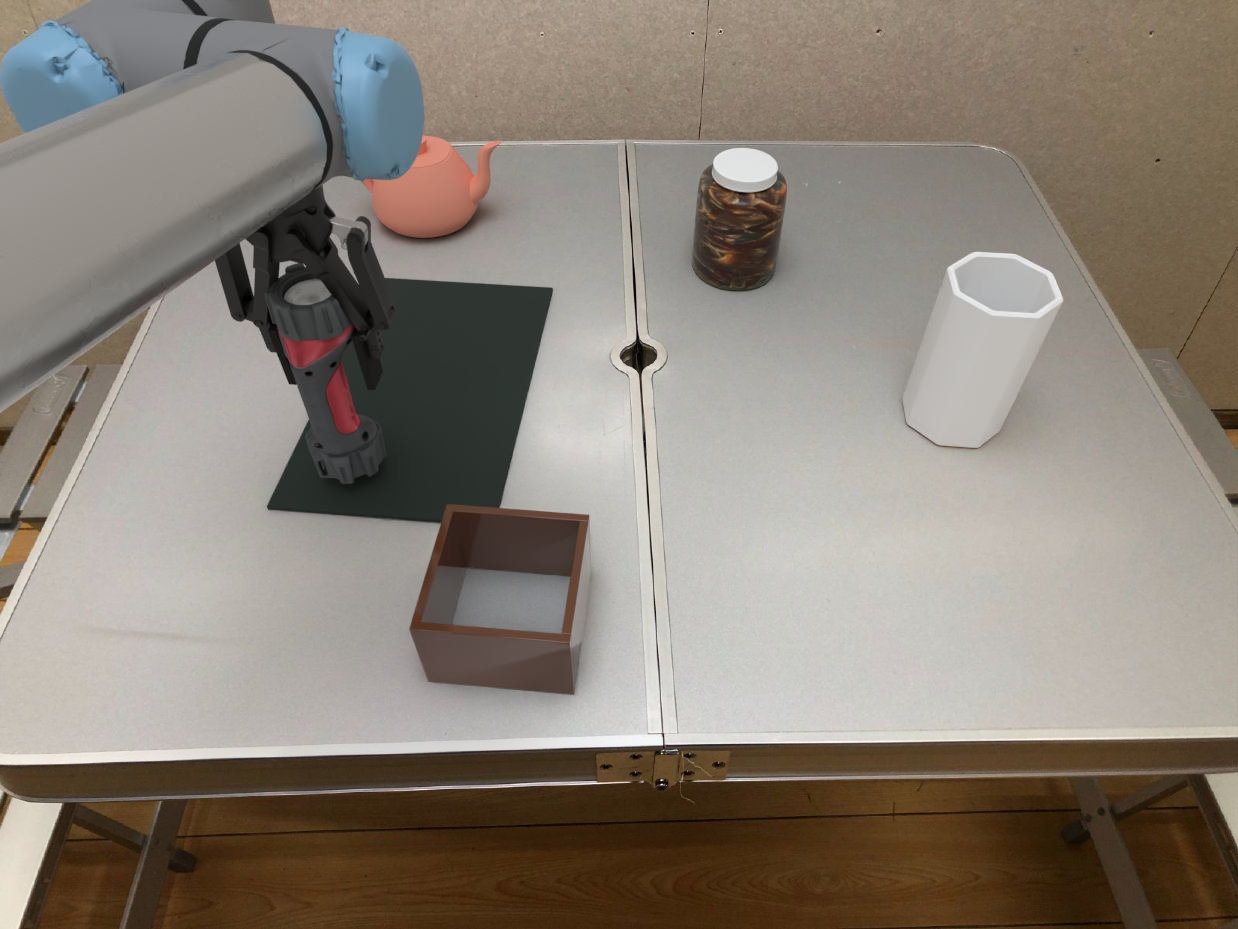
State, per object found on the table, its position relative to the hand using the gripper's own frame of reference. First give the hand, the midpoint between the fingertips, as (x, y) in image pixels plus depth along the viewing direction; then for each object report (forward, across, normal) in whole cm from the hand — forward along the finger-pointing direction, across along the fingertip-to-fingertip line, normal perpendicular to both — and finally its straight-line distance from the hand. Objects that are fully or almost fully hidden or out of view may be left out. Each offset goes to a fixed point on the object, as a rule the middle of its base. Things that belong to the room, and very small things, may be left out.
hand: (336, 377), depth 80 cm
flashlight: (+12, 0, 0) cm, 12 cm away
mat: (+14, -3, -14) cm, 20 cm away
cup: (+14, -64, -15) cm, 67 cm away
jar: (+14, -39, -42) cm, 59 cm away
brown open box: (+14, -19, +17) cm, 29 cm away
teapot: (+14, +5, -50) cm, 52 cm away
